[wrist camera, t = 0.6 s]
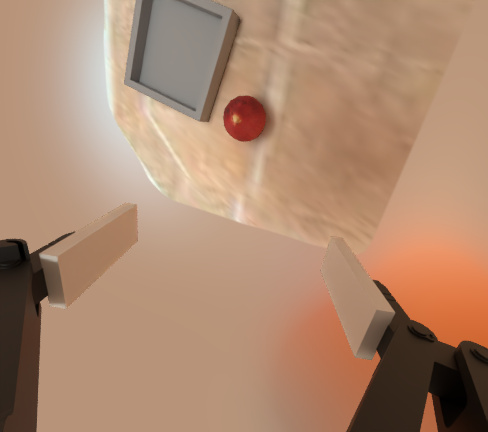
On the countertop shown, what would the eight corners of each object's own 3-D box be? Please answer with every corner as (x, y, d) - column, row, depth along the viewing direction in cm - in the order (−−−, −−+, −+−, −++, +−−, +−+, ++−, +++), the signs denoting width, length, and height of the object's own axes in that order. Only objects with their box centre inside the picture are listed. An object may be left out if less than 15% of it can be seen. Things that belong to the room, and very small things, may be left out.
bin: (137, 86, 40) (123, 83, 37) (154, -17, 34) (140, -30, 31) (208, 121, 38) (199, 121, 36) (240, 19, 32) (232, 9, 29)
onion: (227, 121, 37) (203, 120, 30) (250, 89, 35) (230, 80, 27) (253, 147, 37) (236, 152, 30) (278, 117, 35) (266, 115, 28)
